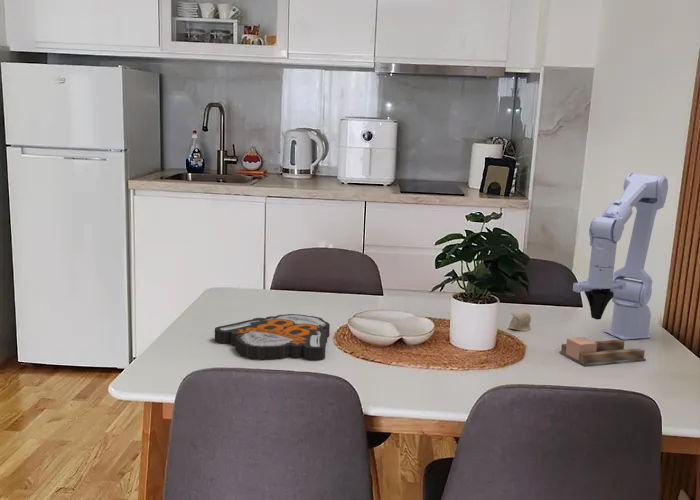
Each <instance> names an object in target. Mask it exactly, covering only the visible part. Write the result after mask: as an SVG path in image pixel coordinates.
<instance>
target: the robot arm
mask: <svg viewBox="0 0 700 500" xmlns="http://www.w3.org/2000/svg"><path fill="white" fill-rule="evenodd" d="M668 190H669V182H668V178H667V177H666V175H664V174H663V175H662V174H661V175H655V174H654V175H653V174H645V173H644V174H643V173H633V172H630V173H628V174H627V175H626V177H625V178H624V181H623V193H622V194H621V196H620V198H619V199H615V200H613V201H612V202H611V203H610V204H609V206H608V207H607V208H606V209H605V210H604V211H603V213H602V214H601V215H599V216H598V215H597V216H596V217H594V218H592V220H591V221H590V224H589V228H588V234H589V245H590V246H591V250H590V260H589V268H588V269H589V271H588V276H587V277H588V278H587V279H586V280H585V281H580V282H573V285H572V291H573V292H576V293H578V294H579V293H581V292H584V294H585V296H586V299H587V301H588V305H589V310H590V317H591V318H592V319H594V320H601V319H602V317H603V315H604V313H605V311H606V307H607V305H608V304H609V303H610V301H612V303H613V311H612V312H613V313H612V320H611V327H610V328H609V329H603V332H605V333H607V334H609V335H611V336H614V337H616V338H618V339H619V340H623V341H625V340H636V339H637V340H638V339H650V338H651V335H649V333H650V325H651V317H652V312H651V309H650V307H649V305H648V304H649V302H650V300H651V298H652V291H653V288H652V286H653V279H652V277H651V276H650V275H649V273H647V272H646V270H645V265H646V260H647V256H648V251H649V247H650V241H651V237H652V233H653V229H654V228H653V227H654V223H655V219H656V216H657V212H658V210H660V209H663V208H664V206H665V203H666V200H667V195H668V192H669V191H668ZM633 207H634V208H635V209H636V212H635V218H634V222H633V227H632V231H631V236H630V240H629V244H628V248H627V255H626V259H625V262H624V266H623V267H620V268H619V269H617V270H615V264H616V263H615V262H616V254H617V246H618V245H617V244H618V242H619V241H620V240H621V238H622V236H623V232H624V230H625V225H626V223H627V222H628V220H629V219H630V218H631V217H632V215H633ZM627 278H628V279H627Z"/></svg>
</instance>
